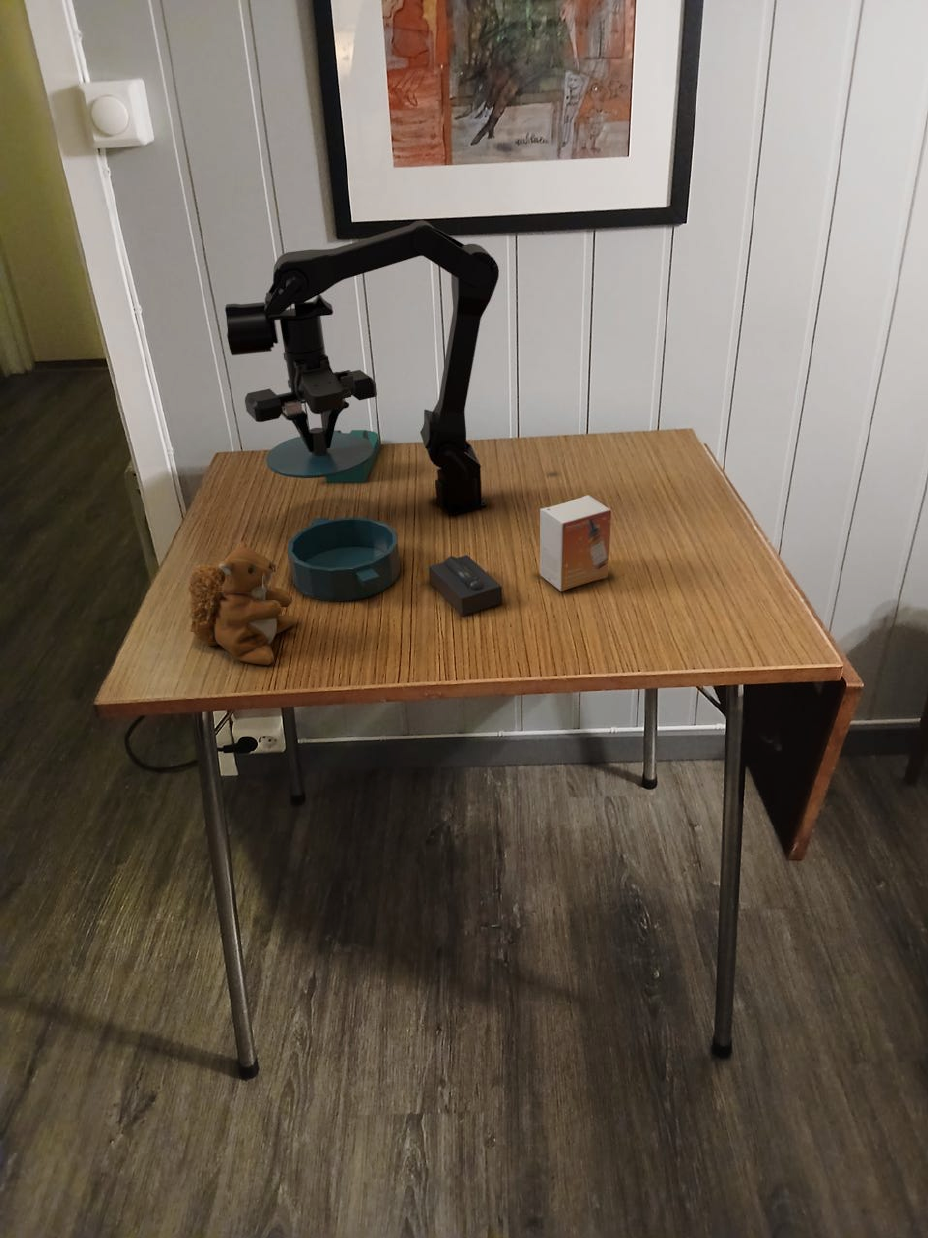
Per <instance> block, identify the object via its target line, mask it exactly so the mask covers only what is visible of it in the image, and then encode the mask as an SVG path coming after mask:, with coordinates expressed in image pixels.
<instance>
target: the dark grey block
mask: <svg viewBox="0 0 928 1238" xmlns="http://www.w3.org/2000/svg"><path fill="white" fill-rule="evenodd" d="M428 570H429V583H430V585H431V586H432V587H433V588H434V589H435V590H436V591H437V592H438V593H439V594H440V595H441V596H442V597H443V598H444V599H445V600H446V601H447V602H448V603H449V604H450V605H451V606H452V607H453V608H454V609H455V610H456V611H457V612H458V613H459V615H461V616H462V617H465V616H469V615H471V614H474V613H478V612H480V611H483V610H487V609H490V608H494V607H497V606H500V605H502V604H503V587H502V585H501V584H500V583H499V582H498V581H497V580H495V579H494V578H493V577H492V576H491V575H490V574H489V573H488V572H487V571H485V570H484V569H483V568H482V567H481V566H480V565H479V564H478V563H477V562H476V561H475V560H473V559H472V558H471V557H470V556H469V555H468V554H466V555H463V556H458V557H455V556H448V557H446V559H444V561H442V562H439V563H435V564H431V565H429V566H428Z"/></svg>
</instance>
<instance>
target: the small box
mask: <svg viewBox="0 0 928 1238" xmlns="http://www.w3.org/2000/svg"><path fill="white" fill-rule="evenodd" d="M539 518H540V519H539V575H540V576H541V577H542V578H543V579H545V580H546V581H547V582H548V583H549V584H551V585H552V586H553V587H554V588H556V589H557V590H558V591H559V592H565V591H567V590H569V589H573V588H576V587H579V586H582V585H585V584H589V583H592V582H595V581H598V580H604V579H606V578H608V576H609V562H610V543H611V542H610V541H611V519H612V510H611V509H610V508H609V507H607V506H606V505H604V504H603V503H601V502H600V501H598V500H597V499H595V498H593V497H592V496H591V495H589V494H588V495H584V496H582V497H579V498H576V499H572V500H569V501H565V502H562V503H558V504H555V505H551V506H546V507H542V508H540V509H539Z"/></svg>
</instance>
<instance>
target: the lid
mask: <svg viewBox="0 0 928 1238" xmlns="http://www.w3.org/2000/svg"><path fill="white" fill-rule="evenodd" d="M309 432H310V436H311V440H312V446H313V452H309V450H308V449H307V447H306V445H305V443H304V441H303V440H302V438H301V436H300V435H299V436H297V437H293V438H290V439H288V440H285V441H283V442H281V443H279V444H277V445H276V446H273V448H271V449H270V450H269V451H268V453H267V454H266V456H265V463H266V466H267V468H268V469H269V470H270V471H272V472H274V473H275V474H278V475H280V476H283V477H287V478H288V477H289V478H295V479H318V478H326V477H327V476H333V475H338V474H342V473H345V472H348V471H351V470H354V469H356V468H358V467H360V466H362V465H363V464H365V463H366V462H368V461H369V460H370V459H371V457H372V456H373V452H374V449H373V445H372V443H371V442H370V441H368V440H367V439H365V438H363V437H360V436H357V435H353V434H348V433H349V432H347V433H346V432H342V433H333V437H332V442H331V446H330V448H327V443H326V436H325V430H324V429H323V428H322V427H313V428H311V429H309Z"/></svg>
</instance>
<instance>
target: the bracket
mask: <svg viewBox="0 0 928 1238" xmlns="http://www.w3.org/2000/svg"><path fill="white" fill-rule="evenodd" d="M334 433H343V432H342V431H341V430H340V429H339V430H338V429H336V430H335V429H334ZM347 433H348V434H353V435H357V436H360V437H363V438H365V439H367V440H368V441H370V442H371V443H372V445H373V449H374V452H373V456H372V457H371V459H370V460H369V461H368V462H366V463H365V464H363V465H362V466H360V467H358V468H356V469H354V470H351V471H348V472H345V473H342V474H338V475H333V476H327V477H325V482H326V483H334V484H335V483H366V481H367V478H368V476H369V474H370V472H371V470H372V468H373V465H374V463H375V460H376V458H377V456H378V453H379V452H380V449H381V447H380V445H381V444H380V436H379V434H378V433H377V432H375V431H372V430H366V429H352V430H350V432H347Z"/></svg>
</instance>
